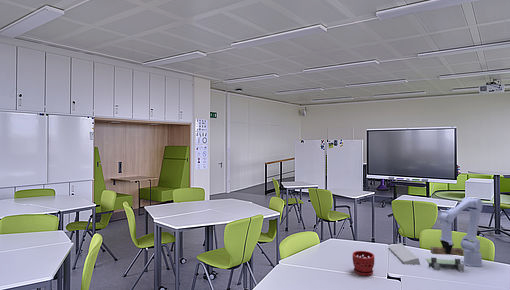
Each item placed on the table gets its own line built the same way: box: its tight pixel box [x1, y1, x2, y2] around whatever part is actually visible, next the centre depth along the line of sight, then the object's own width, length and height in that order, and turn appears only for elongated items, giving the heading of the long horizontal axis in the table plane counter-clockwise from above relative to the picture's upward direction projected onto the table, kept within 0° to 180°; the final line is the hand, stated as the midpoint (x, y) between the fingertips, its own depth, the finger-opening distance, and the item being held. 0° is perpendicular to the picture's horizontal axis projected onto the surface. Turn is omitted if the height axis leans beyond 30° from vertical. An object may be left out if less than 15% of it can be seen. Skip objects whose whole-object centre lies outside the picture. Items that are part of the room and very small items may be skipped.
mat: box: [424, 258, 455, 264], centre depth 219 cm, size 20×9×1 cm, turn 78°
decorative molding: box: [388, 242, 421, 266], centre depth 232 cm, size 34×5×10 cm
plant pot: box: [352, 250, 375, 277], centre depth 202 cm, size 13×13×12 cm
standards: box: [428, 257, 465, 273], centre depth 206 cm, size 20×6×6 cm, turn 78°
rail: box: [430, 246, 464, 257], centre depth 207 cm, size 18×4×4 cm, turn 78°
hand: (446, 253), depth 207 cm, fingers closed on rail, 3 cm apart
